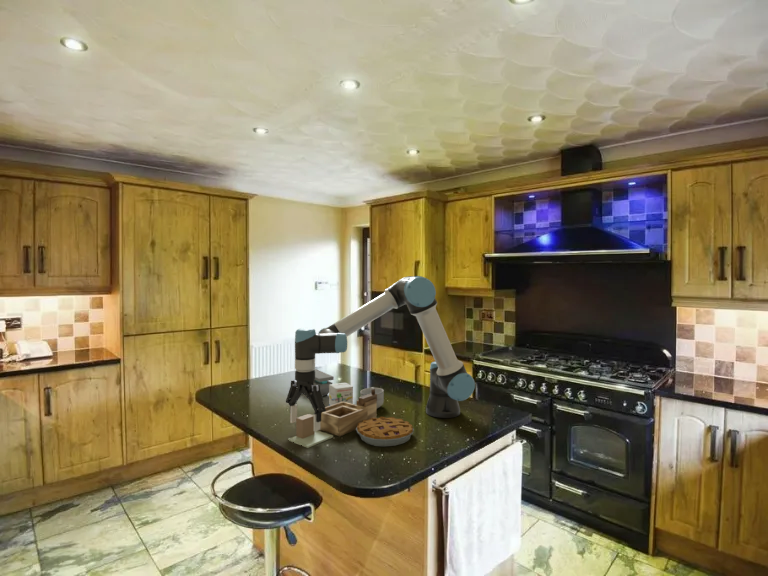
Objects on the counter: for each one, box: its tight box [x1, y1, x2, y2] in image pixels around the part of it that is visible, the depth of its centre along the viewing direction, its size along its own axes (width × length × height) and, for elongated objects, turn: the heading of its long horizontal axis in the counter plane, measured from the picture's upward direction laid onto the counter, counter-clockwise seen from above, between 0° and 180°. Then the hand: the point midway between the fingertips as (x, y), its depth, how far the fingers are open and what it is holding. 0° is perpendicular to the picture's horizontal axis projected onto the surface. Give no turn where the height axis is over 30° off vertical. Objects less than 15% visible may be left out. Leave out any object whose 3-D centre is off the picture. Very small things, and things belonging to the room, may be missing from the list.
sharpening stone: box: [311, 368, 335, 397], centre depth 217 cm, size 25×8×11 cm, turn 35°
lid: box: [287, 413, 334, 449], centre depth 157 cm, size 11×13×8 cm
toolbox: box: [319, 399, 378, 437], centre depth 173 cm, size 14×23×9 cm, turn 142°
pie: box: [355, 416, 415, 447], centre depth 160 cm, size 22×22×5 cm
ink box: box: [328, 382, 354, 406], centre depth 190 cm, size 8×8×12 cm
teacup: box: [359, 386, 385, 409], centre depth 197 cm, size 14×11×8 cm
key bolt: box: [358, 389, 377, 406], centre depth 178 cm, size 2×9×5 cm, turn 142°
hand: (305, 426), depth 159 cm, fingers open, 12 cm apart
